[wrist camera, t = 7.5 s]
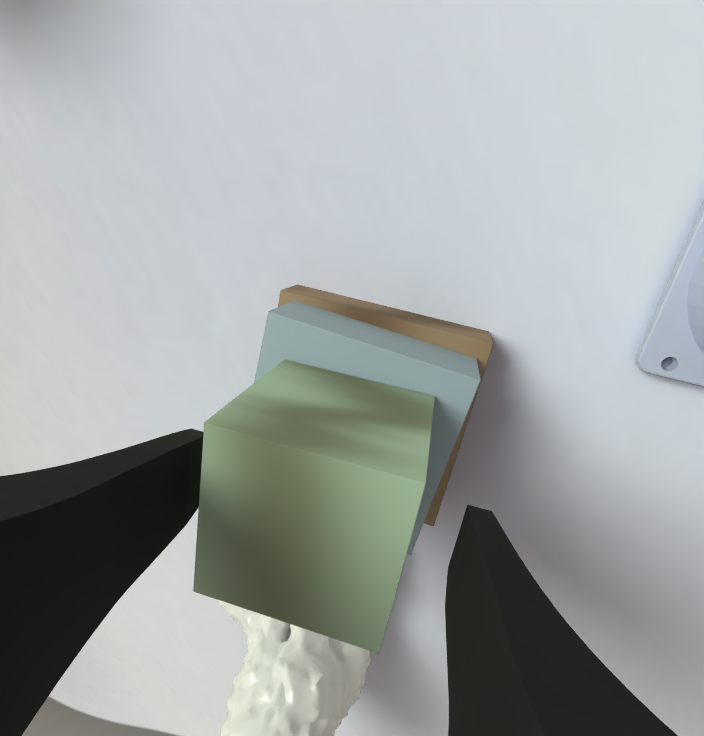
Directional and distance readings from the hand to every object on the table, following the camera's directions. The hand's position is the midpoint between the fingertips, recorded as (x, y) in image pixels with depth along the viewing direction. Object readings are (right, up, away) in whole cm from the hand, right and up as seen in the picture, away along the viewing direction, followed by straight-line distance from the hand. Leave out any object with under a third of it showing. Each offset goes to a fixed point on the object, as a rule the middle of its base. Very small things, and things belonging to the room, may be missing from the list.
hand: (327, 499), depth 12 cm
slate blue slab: (+1, +2, +6) cm, 6 cm away
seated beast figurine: (-1, -9, +11) cm, 14 cm away
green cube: (0, +1, +3) cm, 3 cm away
